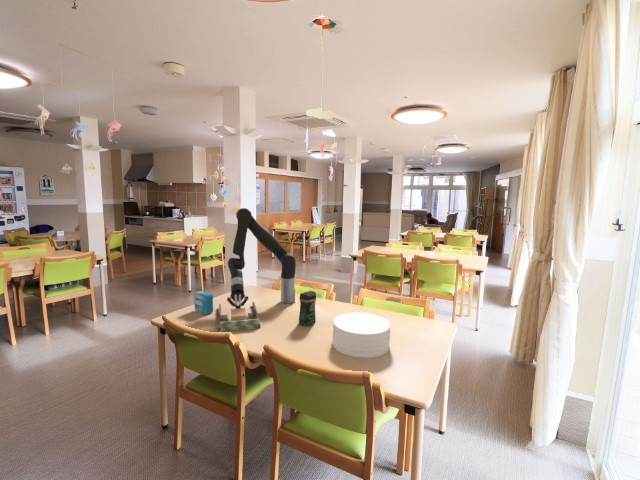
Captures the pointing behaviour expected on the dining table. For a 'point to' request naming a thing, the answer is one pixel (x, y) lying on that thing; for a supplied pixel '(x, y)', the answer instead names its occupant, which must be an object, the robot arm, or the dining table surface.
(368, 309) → the dining table surface
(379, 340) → the plate stack
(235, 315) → the terracotta block
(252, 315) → the pads
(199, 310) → the data package
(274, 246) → the robot arm
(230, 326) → the lane rails
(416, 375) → the dining table surface
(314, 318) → the coffee jar
